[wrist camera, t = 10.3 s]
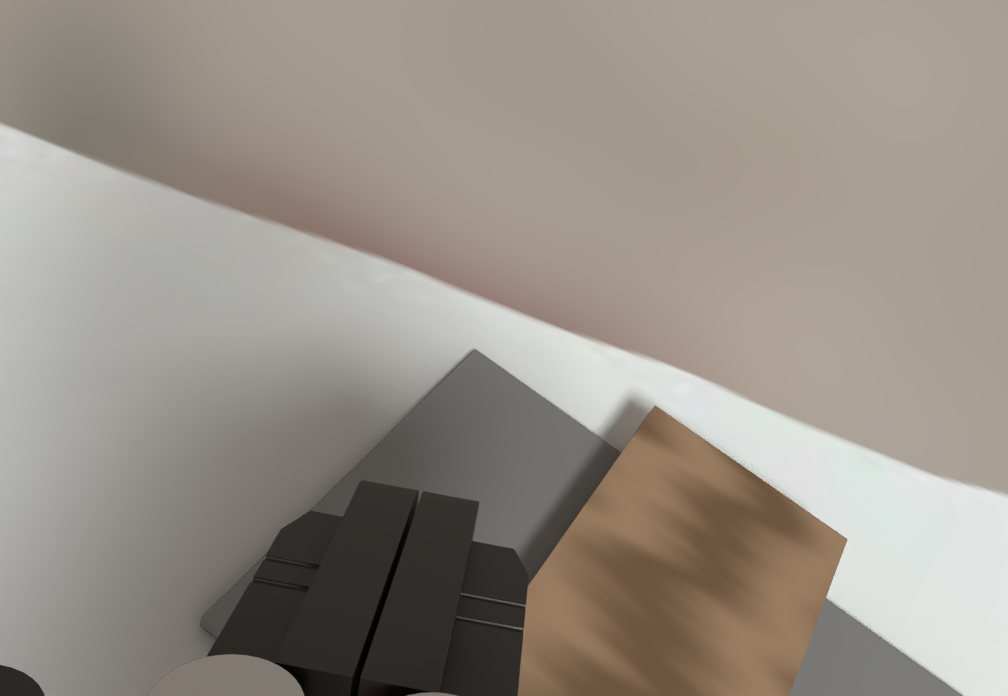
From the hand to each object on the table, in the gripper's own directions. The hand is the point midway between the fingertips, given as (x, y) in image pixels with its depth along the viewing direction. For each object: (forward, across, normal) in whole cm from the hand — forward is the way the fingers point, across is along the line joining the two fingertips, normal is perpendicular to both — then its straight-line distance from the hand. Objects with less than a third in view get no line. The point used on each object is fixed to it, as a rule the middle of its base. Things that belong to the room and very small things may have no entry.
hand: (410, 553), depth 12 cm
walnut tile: (+13, -6, +14) cm, 20 cm away
